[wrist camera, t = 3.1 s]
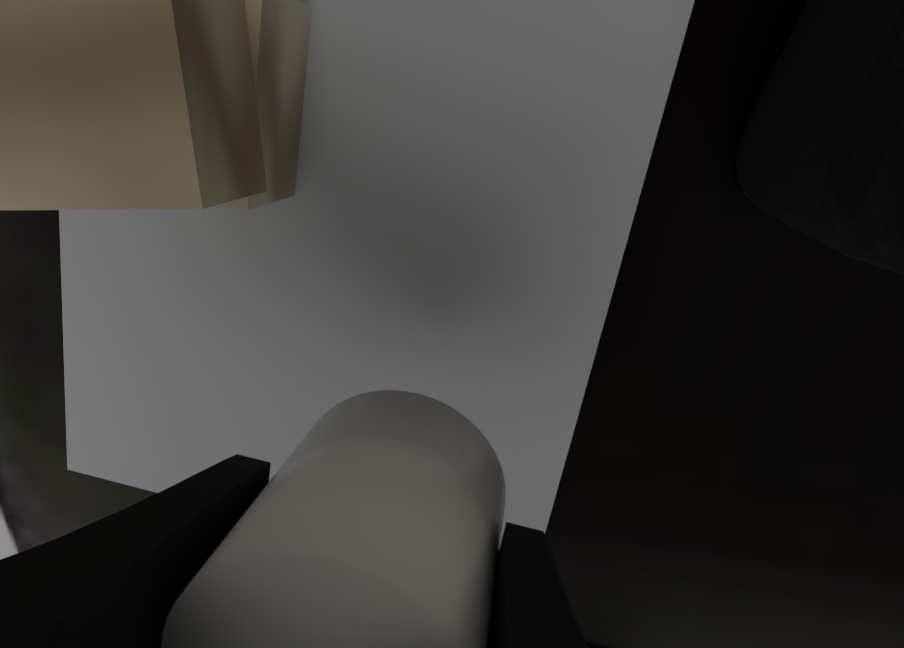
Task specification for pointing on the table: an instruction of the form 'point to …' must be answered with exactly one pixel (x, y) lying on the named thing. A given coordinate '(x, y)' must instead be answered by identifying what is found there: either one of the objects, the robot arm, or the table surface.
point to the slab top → (127, 105)
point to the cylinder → (360, 539)
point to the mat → (385, 247)
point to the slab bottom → (278, 91)
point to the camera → (834, 131)
